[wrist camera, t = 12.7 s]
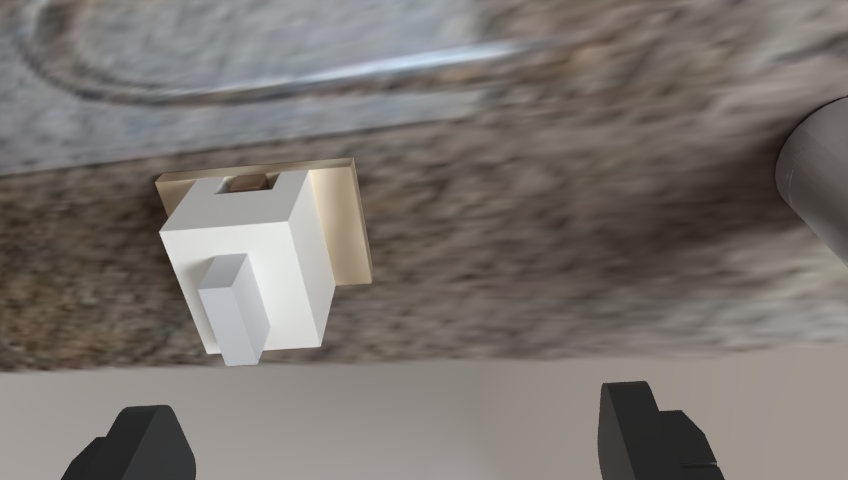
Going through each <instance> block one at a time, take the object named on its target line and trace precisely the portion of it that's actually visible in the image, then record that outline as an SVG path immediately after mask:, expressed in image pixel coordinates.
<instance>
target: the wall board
mask: <svg viewBox="0 0 848 480" xmlns="http://www.w3.org/2000/svg"><path fill="white" fill-rule="evenodd" d="M308 169H309V171H310V175H311V180H312V184H313V189H314V193H315V197H316V202H317V206H318V211H319V215H320V219H321V224H322V228H323V232H324V237H325V241H326V246H327V250H328V254H329V259H330V263H331V267H332V272H333V276H334V281H335V286H337V285H352V284H367V283H372V279H373V273H374V271H373V266H372V260H371V254H370V249H369V243H368V237H367V232H366V226H365V220H364V215H363V209H362V203H361V198H360V192H359V186H358V181H357V175H356V169H355V164H354V158H353V157H351V158H339V159H327V160H315V161H303V162H290V163H278V164H266V165H254V166H242V167H229V168H217V169H205V170H193V171H181V172H169V173H163V174H162V175H161V176H160V177H159V178H158V180H157V181H156V182H155V184H156V187H157V189H158V192H159V195H160V197H161V200H162V203H163V205H164V208H165V211H166V213H167V216H168V219H169V217H170V216H171V215H172V213H173V212H174V211H175V209H176V208H177V206H178V205H179V204H180V202H181V201H182V200H183V198H184V197H185V195H186V194H187V193H188V191H189V190H190V189H191V187H192V186H193V185H194V183H195V182H196V180H197V179H205V178H217V177H225V178H226V181H227V185H228V188H229V191H230V193H237V192H249V191H261V190H272V189H273V187H274V185H275V183H276V181H277V179H278V177H279V175H280V173H281V172H286V171H297V170H308Z"/></svg>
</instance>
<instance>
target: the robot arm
mask: <svg viewBox="0 0 848 480" xmlns="http://www.w3.org/2000/svg"><path fill="white" fill-rule="evenodd" d="M775 179H776V185H777V189H778V191H779V193H780V195H781V197H782V198H783V199H784V200H785V201H786V202H787V204H788V205H789V206H790V207H791V208H792V209H793V210H794V211H795V212H796V213H797V214H798V215H799V216H800V217H801V218H802V219H803V221H804V222H805V223H806V224H807V225H808V226H809V227H810V228H811V229H812V230H813V231H814V232H815V234H816V235H817V236H818V237H819V238H820V239H821V240H822V241H823V242H824V243H825V244H826V245H827V246H828V247H829V248H830V249H831V250H832V251H833V252H834V253H835V254H836V255H837V256H838V258H839V259H840V260H841V261H842V262H843V263H844V264H845V265H846V266H847V267H848V97H847V98H843V99H840V100H838V101H835V102H833V103H831V104H828V105H826V106H824V107H823V108H821V109H820V110H818V111H816V112H815V113H813V114H812V115H810V116H809V117H808V118H807V119H806V120H805V121H803V122H802V123H801V124H800V125H799V126H798V127H797V128H796V129H795V130H794V132H793V133H792V134H791V135H790V136H789V138H788V139H787V141H786V143H785V144H784V146H783V148H782V149H781V151H780V154H779V157H778V160H777V163H776V172H775ZM598 456H599V464H600V469H601V474H602V478H603V480H725V479H724V477H723V475H722V472H721V470H720V468H719V467H717V461H716V459H715V457H714V454H713V452H712V450H711V448H710V446H709V443H708V441H707V439H706V437H705V434H704V433H703V432H702V431H701V430H700V429H699V428H698V427H697V426H696V425H695V424H694V423H693V422H692V421H691V420H690V419H689V418H688V417H687V416H686V415H685V414H684V413H683V412H682V410H675V411H659V410H658V407H657V405H656V402H655V399H654V396H653V394H652V391H651V389H650V387H649V385H648V383H647V382H646V381H636V382H617V383H603V385H602V389H601V399H600V413H599V427H598ZM195 477H196V463H195V459H194V455H193V453H192V451H191V448H190V446H189V444H188V442H187V440H186V438H185V435H184V433H183V431H182V429H181V426H180V424H179V422H178V420H177V418H176V415H175V413H174V411H173V410H172V408H171V407H170V406H168V405H153V406H136V407H135V406H134V407H126V408H125V409H123V410H122V411H121V412H120V413H119V415H118V417H117V418H116V420H115V422H114V423H113V425H112V427H111V429H110V431H109V432H108V434H107V436H106V437H96V438H95V439H94V440H93V441H92V442H91V443H90V444H89V445H88V446H87V447H86V448H85V449H84V450H83V451H82V452H81V453H80V454H79V455H78V456H77V457H76V458H75V459H74V460H73V461H72V462H71V463H70V465H69V467H68V468H67V470H66V472H65V473H64V475H63V477H62V478H61V480H195Z"/></svg>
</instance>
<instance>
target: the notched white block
mask: <svg viewBox="0 0 848 480" xmlns="http://www.w3.org/2000/svg"><path fill="white" fill-rule="evenodd" d="M159 233H160V236H161V238H162V241H163V243H164V246H165V248H166V251H167V253H168V256H169V258H170V261H171V263H172V266H173V269H174V271H175V274H176V276H177V279H178V281H179V284H180V286H181V289H182V291H183V294H184V296H185V299H186V301H187V304H188V306H189V309H190V312H191V314H192V317H193V319H194V322H195V324H196V327H197V329H198V332H199V334H200V337H201V339H202V342H203V344H204V347H205V349H206V352H207V354H215V353H222V356H223V358H224V361H225V364H226V366H238V365H254V364H258V362H259V359H260V356H261V353H262V351H263V350H278V349H293V348H309V347H321V343H322V339H323V335H324V331H325V327H326V323H327V318H328V314H329V310H330V306H331V302H332V298H333V294H334V290H335V281H334V276H333V272H332V267H331V263H330V259H329V254H328V250H327V246H326V241H325V237H324V232H323V228H322V224H321V219H320V215H319V211H318V206H317V202H316V197H315V193H314V189H313V184H312V180H311V175H310V171H309V169H308V170H297V171H286V172H281V173H280V175H279V177H278V179H277V181H276V183H275V185H274V187H273V189H272V190H261V191H249V192H237V193H230V191H229V188H228V185H227V181H226V178H225V177H217V178H205V179H197V180H196V182H195V183H194V185H193V186H192V187H191V189H190V190H189V191H188V193H187V194H186V195H185V197H184V198H183V200H182V201H181V202H180V204H179V205H178V206H177V208H176V209H175V211H174V212H173V213H172V215H171V216H170V217H169V219H168V220H167V221H166V223H165V224H164V226H163V227H162V228H161V230H160V231H159Z"/></svg>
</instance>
